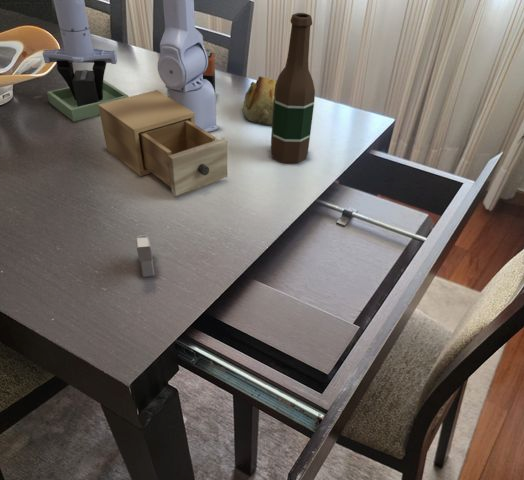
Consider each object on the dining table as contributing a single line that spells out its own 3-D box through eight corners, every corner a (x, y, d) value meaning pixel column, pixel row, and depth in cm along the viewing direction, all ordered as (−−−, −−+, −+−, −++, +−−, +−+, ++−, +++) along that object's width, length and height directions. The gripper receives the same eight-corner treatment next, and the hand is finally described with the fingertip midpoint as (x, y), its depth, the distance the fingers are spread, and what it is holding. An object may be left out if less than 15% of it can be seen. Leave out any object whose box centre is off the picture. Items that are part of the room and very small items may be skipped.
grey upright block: (140, 259, 73) (133, 213, 67) (152, 258, 74) (145, 212, 68) (144, 290, 69) (136, 243, 63) (156, 289, 69) (149, 242, 63)
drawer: (231, 179, 89) (231, 143, 84) (179, 199, 83) (176, 161, 78) (191, 152, 95) (189, 116, 90) (140, 169, 90) (135, 132, 84)
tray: (105, 90, 115) (103, 79, 113) (130, 107, 109) (128, 95, 107) (49, 103, 109) (46, 91, 107) (73, 121, 103) (71, 110, 101)
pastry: (230, 109, 111) (230, 70, 105) (276, 100, 116) (279, 63, 110) (262, 134, 104) (264, 94, 98) (310, 123, 108) (314, 85, 102)
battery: (213, 102, 113) (212, 54, 106) (184, 100, 113) (181, 52, 106) (215, 95, 116) (214, 47, 109) (187, 93, 116) (184, 45, 109)
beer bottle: (312, 150, 100) (330, 12, 82) (301, 167, 95) (318, 24, 77) (276, 143, 101) (286, 5, 83) (264, 159, 96) (272, 17, 78)
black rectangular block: (81, 96, 110) (75, 68, 106) (101, 96, 111) (96, 68, 106) (77, 107, 106) (71, 79, 102) (99, 107, 107) (93, 79, 102)
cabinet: (196, 157, 95) (194, 112, 89) (140, 176, 90) (133, 129, 83) (161, 133, 101) (156, 89, 95) (106, 149, 96) (97, 104, 89)
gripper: (33, 32, 94) (52, 105, 104) (110, 34, 96) (121, 105, 106) (39, 21, 99) (57, 92, 109) (112, 23, 101) (123, 93, 111)
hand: (88, 98), depth 108 cm, fingers closed on black rectangular block, 4 cm apart
